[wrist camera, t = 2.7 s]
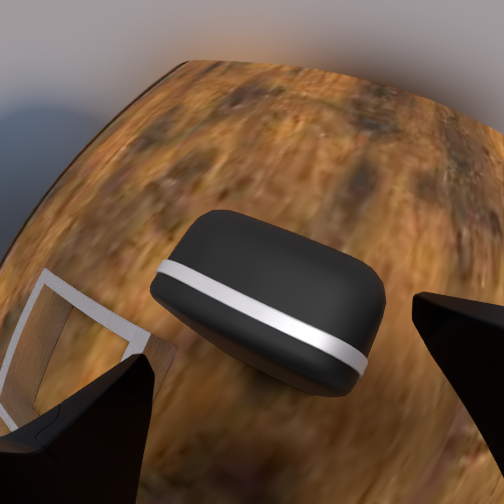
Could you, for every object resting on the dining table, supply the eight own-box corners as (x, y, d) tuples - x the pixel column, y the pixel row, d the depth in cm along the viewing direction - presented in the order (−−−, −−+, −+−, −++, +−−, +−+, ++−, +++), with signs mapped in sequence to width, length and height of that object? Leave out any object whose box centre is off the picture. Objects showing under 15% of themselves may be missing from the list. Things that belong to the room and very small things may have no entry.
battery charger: (345, 343, 16) (419, 257, 6) (319, 398, 15) (369, 403, 5) (247, 299, 19) (195, 175, 9) (218, 349, 17) (121, 274, 7)
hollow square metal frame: (178, 347, 17) (151, 333, 14) (114, 493, 12) (80, 505, 9) (73, 288, 21) (44, 267, 17) (24, 408, 16) (-9, 402, 12)
